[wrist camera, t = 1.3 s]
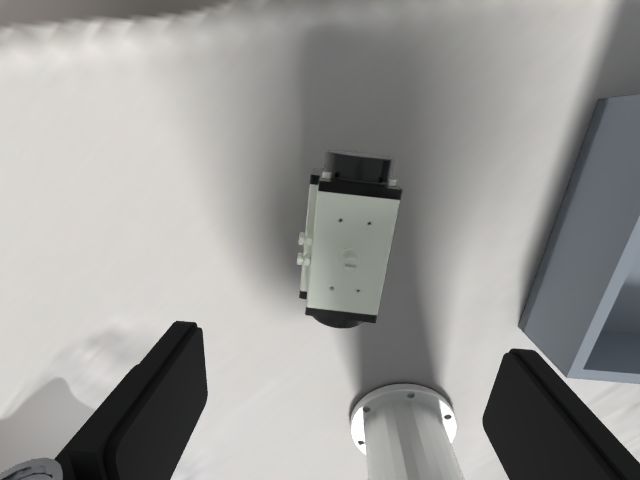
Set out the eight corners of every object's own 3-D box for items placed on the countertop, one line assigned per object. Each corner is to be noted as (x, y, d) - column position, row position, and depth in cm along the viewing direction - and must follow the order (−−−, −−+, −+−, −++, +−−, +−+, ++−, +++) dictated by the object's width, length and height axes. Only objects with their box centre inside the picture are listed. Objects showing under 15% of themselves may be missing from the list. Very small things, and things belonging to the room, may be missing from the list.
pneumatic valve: (379, 151, 26) (413, 165, 15) (359, 270, 30) (374, 352, 19) (316, 144, 26) (303, 153, 15) (305, 264, 30) (288, 342, 19)
